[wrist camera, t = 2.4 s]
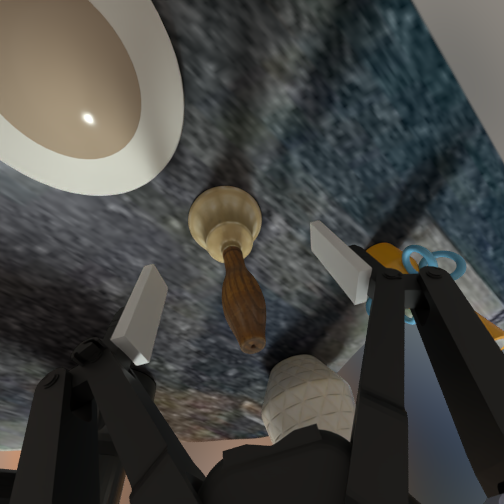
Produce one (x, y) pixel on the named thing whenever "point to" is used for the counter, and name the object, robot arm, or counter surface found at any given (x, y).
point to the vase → (306, 398)
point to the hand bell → (233, 257)
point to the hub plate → (88, 93)
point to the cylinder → (407, 265)
